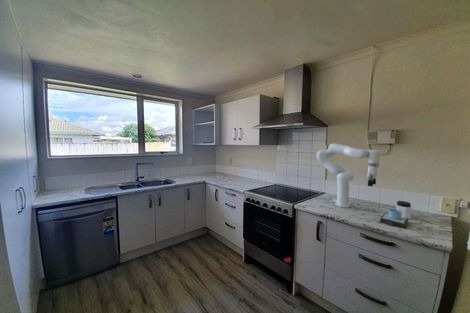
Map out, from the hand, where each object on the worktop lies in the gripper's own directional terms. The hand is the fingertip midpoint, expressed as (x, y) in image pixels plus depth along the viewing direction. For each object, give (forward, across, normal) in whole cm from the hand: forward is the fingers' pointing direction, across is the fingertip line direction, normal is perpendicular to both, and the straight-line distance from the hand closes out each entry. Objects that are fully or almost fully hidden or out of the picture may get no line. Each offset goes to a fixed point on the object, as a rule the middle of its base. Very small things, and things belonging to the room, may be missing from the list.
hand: (371, 185), depth 156 cm
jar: (+24, -8, +20) cm, 32 cm away
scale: (+23, +10, +18) cm, 31 cm away
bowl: (+20, +10, +17) cm, 28 cm away
